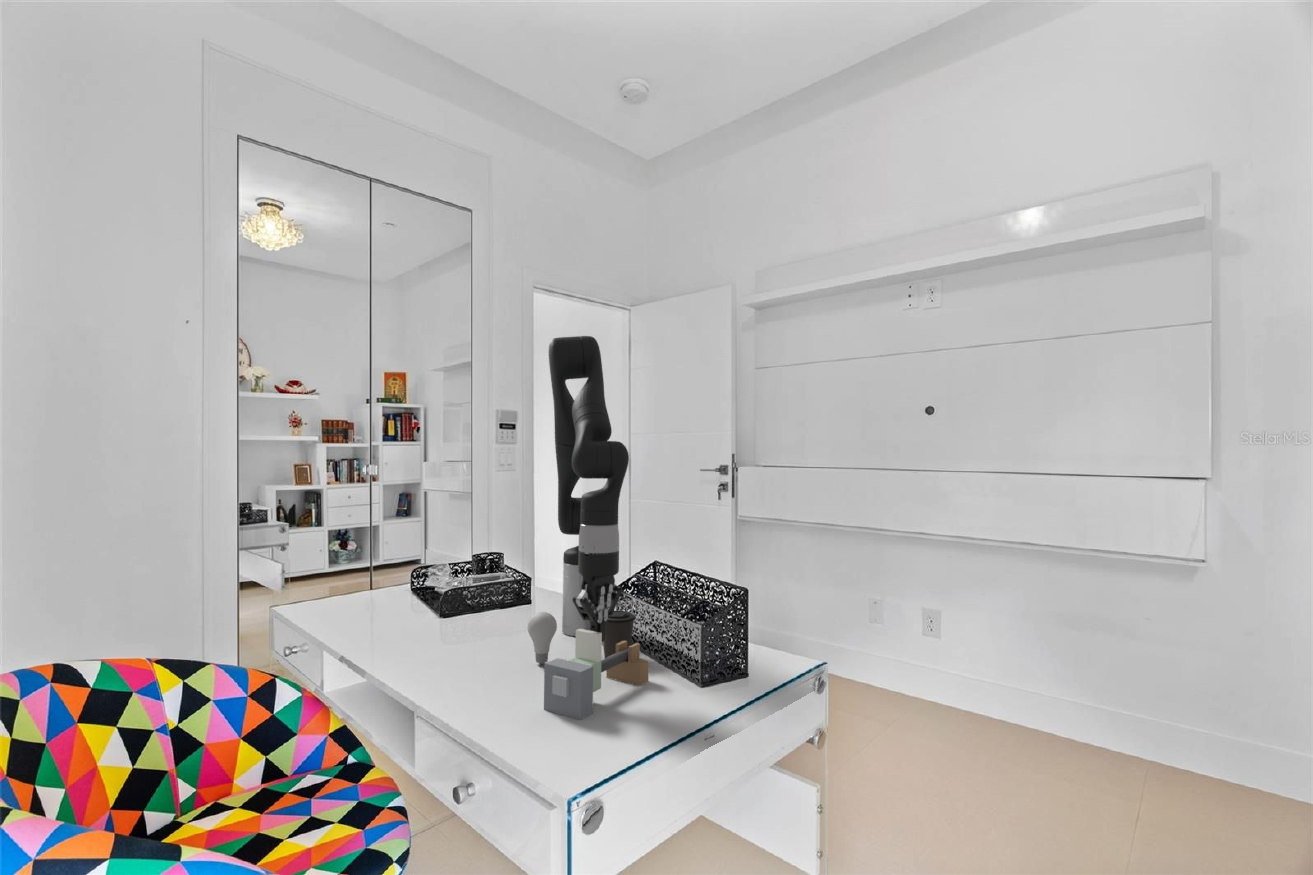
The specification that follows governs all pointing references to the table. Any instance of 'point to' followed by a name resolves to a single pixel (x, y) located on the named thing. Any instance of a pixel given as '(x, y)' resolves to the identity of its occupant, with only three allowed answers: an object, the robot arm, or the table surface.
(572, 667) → the rod rig
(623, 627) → the coffee cup
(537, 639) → the lightbulb
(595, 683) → the white-faced green block
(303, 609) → the table surface
